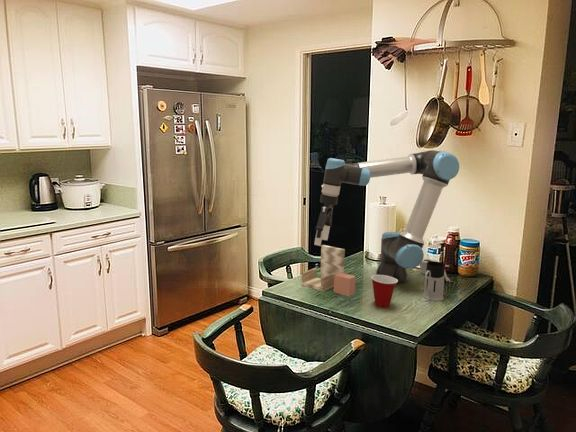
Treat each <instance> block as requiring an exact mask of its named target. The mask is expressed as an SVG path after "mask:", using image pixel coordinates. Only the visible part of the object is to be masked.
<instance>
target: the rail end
mask: <svg viewBox="0 0 576 432" xmlns="http://www.w3.org/2000/svg"><path fill="white" fill-rule="evenodd" d="M356 278H357V277H356V275H352V274H347V273H345V272H344V273H341V272H340V273H338V274H336V275H334V286H333V293H335V294H338V295H343V296H347V297H351V296H353V295H354V294H356V280H357V279H356Z"/></svg>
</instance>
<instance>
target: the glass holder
mask: <svg viewBox="0 0 576 432" xmlns="http://www.w3.org/2000/svg"><path fill="white" fill-rule="evenodd" d="M435 261H436V260H434V261H431V262H427V268H426V274H425V275H424V290H423V291H424V292H423V294H422V297H423V298H425V299H426V300H430V301H442V300H444V287H445V282H444V276H445V275H444V271H445V272H446V269H445V268H446V263H444V262H440V261H436V262H435Z"/></svg>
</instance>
